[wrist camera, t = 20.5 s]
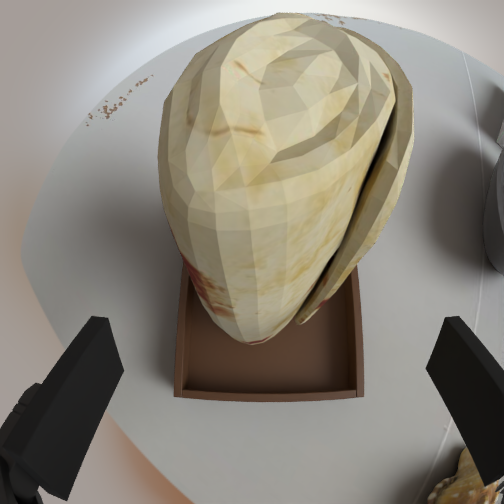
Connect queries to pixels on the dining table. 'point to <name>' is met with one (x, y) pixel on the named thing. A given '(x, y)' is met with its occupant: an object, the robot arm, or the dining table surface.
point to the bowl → (495, 217)
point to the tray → (501, 136)
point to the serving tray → (272, 354)
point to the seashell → (464, 486)
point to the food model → (281, 167)
